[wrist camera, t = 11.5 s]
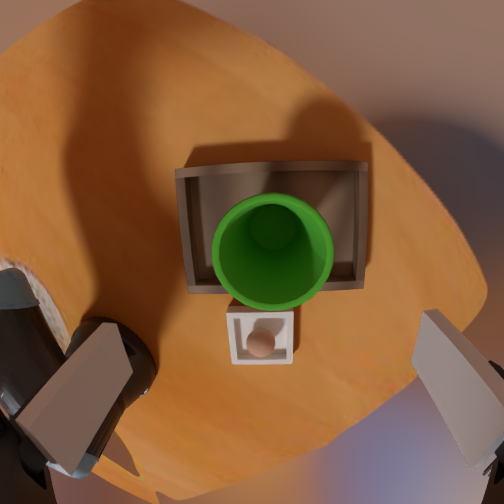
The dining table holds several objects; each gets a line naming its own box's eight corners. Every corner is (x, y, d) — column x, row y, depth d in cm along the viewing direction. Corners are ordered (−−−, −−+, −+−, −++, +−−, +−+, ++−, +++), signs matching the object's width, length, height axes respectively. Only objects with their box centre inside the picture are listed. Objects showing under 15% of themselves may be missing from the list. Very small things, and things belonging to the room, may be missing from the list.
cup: (236, 180, 29) (216, 185, 19) (320, 192, 29) (345, 204, 19) (227, 259, 32) (206, 302, 21) (306, 270, 32) (320, 318, 21)
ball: (248, 346, 35) (245, 362, 32) (246, 323, 34) (243, 339, 31) (275, 345, 35) (275, 362, 32) (275, 322, 34) (275, 338, 31)
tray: (194, 284, 34) (188, 293, 31) (182, 168, 30) (174, 169, 27) (356, 279, 32) (363, 288, 30) (359, 162, 29) (367, 161, 26)
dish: (233, 356, 37) (232, 364, 35) (228, 305, 35) (226, 312, 33) (291, 355, 36) (292, 363, 34) (292, 304, 34) (293, 311, 32)
